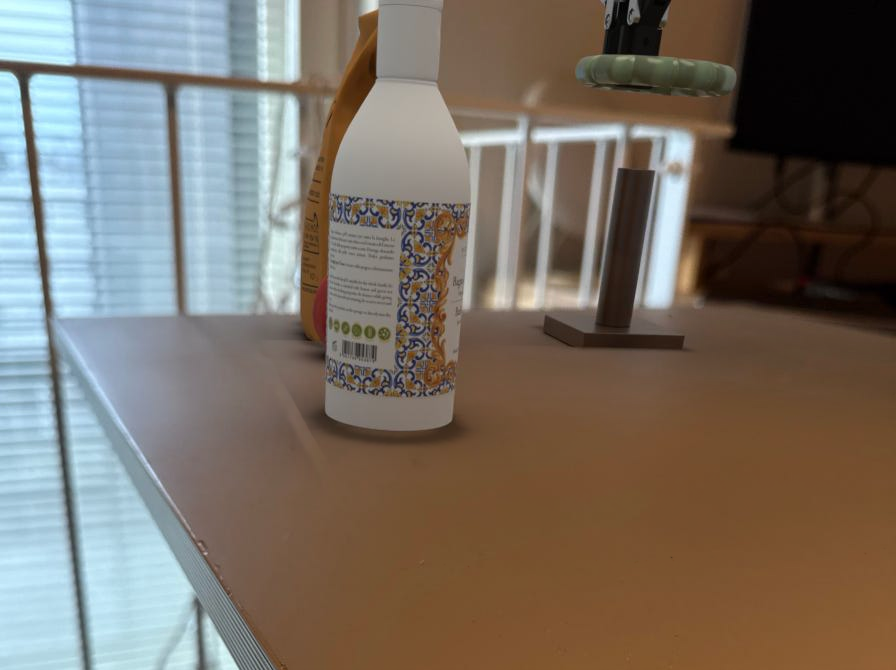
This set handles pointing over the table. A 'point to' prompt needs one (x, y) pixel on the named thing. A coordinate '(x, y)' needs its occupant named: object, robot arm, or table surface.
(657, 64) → the ring
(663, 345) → the post
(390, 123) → the bath foam
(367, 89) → the coffee package
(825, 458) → the table surface
